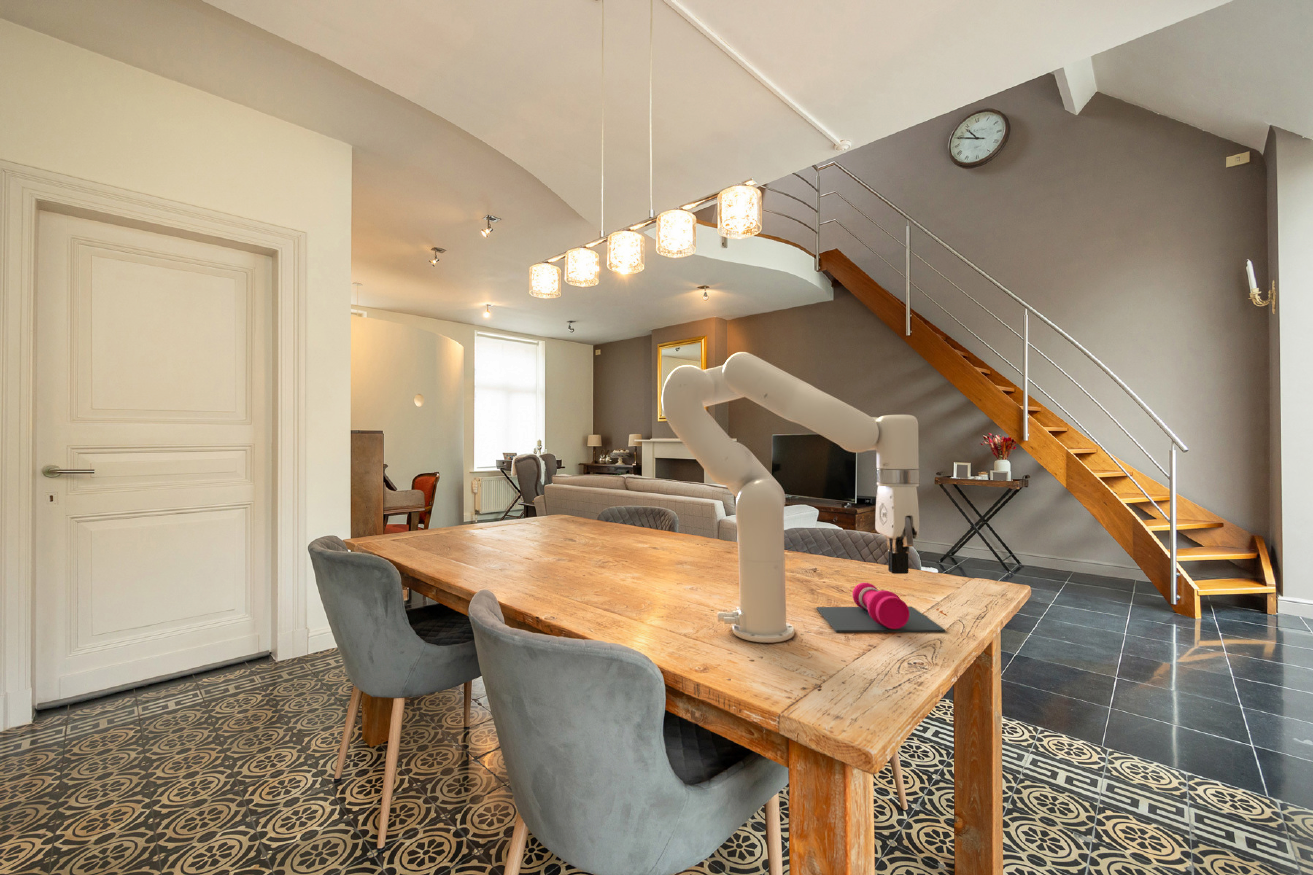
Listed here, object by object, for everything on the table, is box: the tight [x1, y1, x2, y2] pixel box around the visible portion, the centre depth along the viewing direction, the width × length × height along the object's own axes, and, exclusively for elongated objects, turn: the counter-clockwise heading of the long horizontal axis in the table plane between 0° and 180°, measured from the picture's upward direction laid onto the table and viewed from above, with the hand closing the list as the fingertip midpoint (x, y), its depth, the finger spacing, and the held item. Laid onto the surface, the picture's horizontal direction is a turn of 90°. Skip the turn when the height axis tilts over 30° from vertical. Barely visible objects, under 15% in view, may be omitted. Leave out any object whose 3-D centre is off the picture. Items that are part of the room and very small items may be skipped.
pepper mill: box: [851, 582, 909, 629], centre depth 118 cm, size 7×7×20 cm
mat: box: [816, 606, 946, 633], centre depth 118 cm, size 22×16×1 cm
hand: (898, 572), depth 104 cm, fingers closed
